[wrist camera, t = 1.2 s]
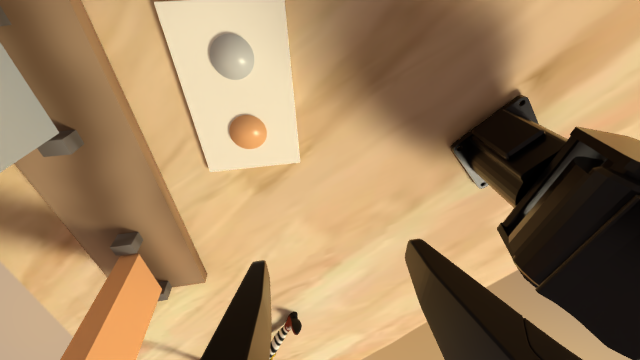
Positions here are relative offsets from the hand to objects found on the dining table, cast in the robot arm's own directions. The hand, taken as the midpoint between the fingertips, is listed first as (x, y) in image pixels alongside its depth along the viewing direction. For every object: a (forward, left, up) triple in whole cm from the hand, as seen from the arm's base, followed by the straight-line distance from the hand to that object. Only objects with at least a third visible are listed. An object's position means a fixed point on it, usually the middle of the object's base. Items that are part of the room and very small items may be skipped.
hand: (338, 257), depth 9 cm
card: (+4, +2, -13) cm, 14 cm away
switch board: (+7, +14, -13) cm, 21 cm away
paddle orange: (0, +20, -11) cm, 22 cm away
